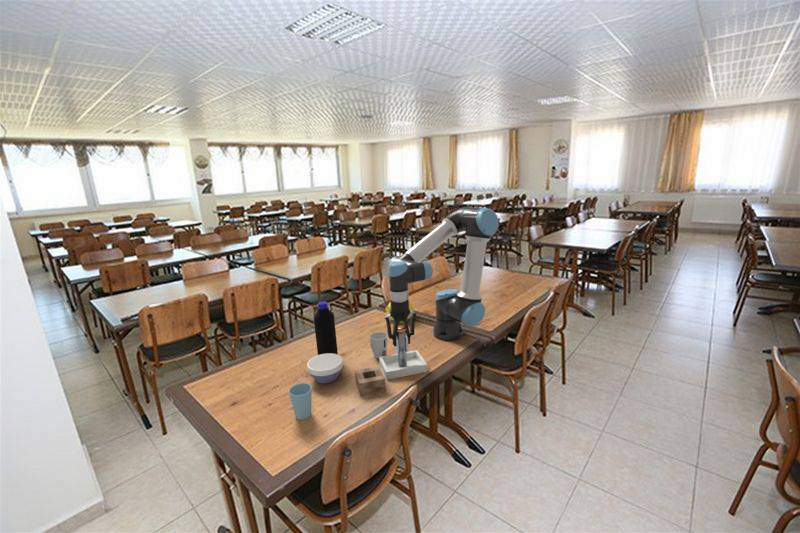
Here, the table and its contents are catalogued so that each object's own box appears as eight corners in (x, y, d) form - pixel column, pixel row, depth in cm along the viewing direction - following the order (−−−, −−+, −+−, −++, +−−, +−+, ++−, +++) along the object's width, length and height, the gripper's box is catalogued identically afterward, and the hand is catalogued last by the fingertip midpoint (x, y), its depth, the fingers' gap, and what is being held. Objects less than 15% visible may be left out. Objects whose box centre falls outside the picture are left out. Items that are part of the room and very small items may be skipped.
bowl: (327, 391, 145) (325, 374, 143) (301, 382, 152) (299, 365, 151) (351, 374, 157) (350, 357, 155) (325, 366, 164) (324, 350, 162)
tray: (417, 356, 168) (417, 350, 168) (427, 371, 156) (427, 364, 155) (379, 363, 164) (378, 356, 163) (386, 379, 151) (386, 372, 150)
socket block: (379, 377, 153) (379, 366, 152) (385, 390, 144) (384, 378, 143) (355, 381, 151) (354, 370, 150) (359, 395, 141) (358, 383, 140)
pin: (406, 361, 162) (404, 324, 158) (409, 366, 158) (408, 329, 154) (395, 363, 161) (393, 326, 157) (398, 368, 157) (396, 331, 152)
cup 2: (386, 360, 166) (384, 340, 164) (368, 359, 168) (367, 339, 166) (390, 351, 174) (389, 332, 172) (373, 351, 176) (372, 331, 173)
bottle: (342, 358, 170) (336, 300, 163) (330, 367, 163) (324, 307, 155) (326, 355, 174) (320, 298, 167) (314, 364, 166) (307, 305, 159)
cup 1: (308, 405, 137) (304, 380, 134) (318, 415, 131) (315, 388, 129) (288, 415, 132) (284, 389, 129) (298, 425, 126) (294, 398, 124)
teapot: (398, 329, 198) (397, 305, 195) (376, 323, 208) (374, 300, 204) (419, 317, 213) (418, 294, 210) (398, 311, 223) (397, 290, 219)
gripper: (415, 294, 158) (417, 344, 163) (377, 299, 153) (381, 351, 159) (421, 299, 151) (423, 352, 156) (381, 305, 146) (385, 359, 152)
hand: (402, 351), depth 158 cm, fingers closed on pin, 3 cm apart
